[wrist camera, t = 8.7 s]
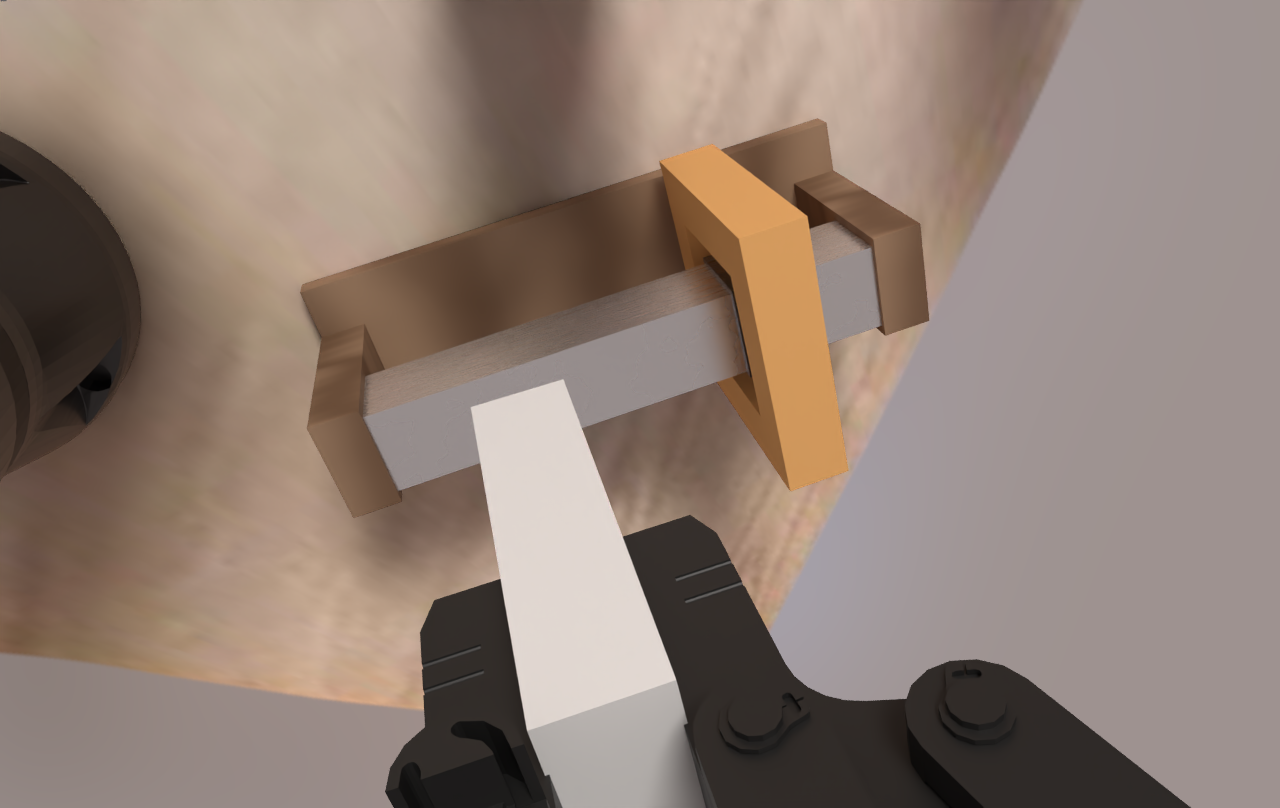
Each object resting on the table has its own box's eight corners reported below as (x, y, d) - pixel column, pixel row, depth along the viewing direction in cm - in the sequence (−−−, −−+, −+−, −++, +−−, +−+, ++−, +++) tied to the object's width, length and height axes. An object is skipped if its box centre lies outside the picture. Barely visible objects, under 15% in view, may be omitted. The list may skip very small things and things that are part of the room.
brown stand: (378, 445, 47) (376, 560, 38) (302, 284, 42) (280, 376, 34) (842, 288, 48) (933, 366, 40) (817, 118, 44) (914, 168, 36)
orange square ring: (709, 371, 47) (790, 491, 37) (659, 161, 41) (738, 239, 32) (756, 356, 47) (848, 470, 37) (712, 144, 41) (807, 216, 32)
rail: (388, 451, 41) (387, 501, 37) (352, 374, 39) (347, 420, 35) (855, 293, 42) (895, 327, 39) (843, 211, 40) (885, 239, 37)
